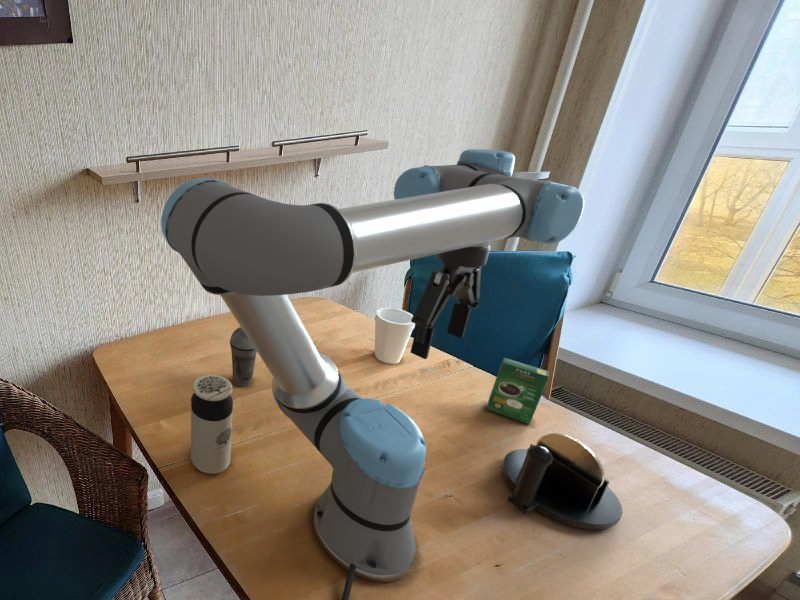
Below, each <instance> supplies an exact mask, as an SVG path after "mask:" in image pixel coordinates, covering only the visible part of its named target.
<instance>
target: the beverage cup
mask: <svg viewBox="0 0 800 600" xmlns="http://www.w3.org/2000/svg"><path fill="white" fill-rule="evenodd" d="M229 345H230V346H229V347H230V351H231V365H232V377H233V383H234V385H236V386H238V387H243V388H246V387H249V386H250V385H251V384H252V379H253V376H254V370H255V363H256V358H257V354H258V352H257V351H256V349H255V348H254V346H253V345H252V343H251V342H250V340H249V339H248V337H247V335H246V334H245V332H244V331H243V329H242V328H241V326H239V327H238V328H236V329H234V330H233V332H232V334H231V335H230V340H229Z"/></svg>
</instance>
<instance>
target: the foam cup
mask: <svg viewBox="0 0 800 600" xmlns="http://www.w3.org/2000/svg"><path fill="white" fill-rule="evenodd" d="M413 315H414V314H412V313H410V312H409V311H406V310H404V309H401V308H400V309H399V308H397V307H396V308H395V307H381V308H379V309H377V310H376V311H375V314H374V321H375V324H374V356H375V358H376V359H377V360H378V361H380V362H383V363H386V364H389V365H390V364H391V365H396V364H399V363H400V362H401V359H402V357H403V356H404V353H405V350H406V348H407V345H408V344H409V343H408V342H409V340H410V337H411V335H412V332H413V330H415V327H416V324H415V323H412V322H411V320H412V317H413Z"/></svg>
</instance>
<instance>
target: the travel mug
mask: <svg viewBox="0 0 800 600" xmlns="http://www.w3.org/2000/svg"><path fill="white" fill-rule="evenodd" d="M191 388H192V391H193V393H192V395H191V397H190V460H191V462H192V465H193V466H194V467H195V468H196V469H197V470H198V471H200V472H202V473H206V474H209V475H213V474H220V473H222V472H224V471H226V470H227V468H228V467H229V466H230V463H231V454H232V432H233V431H232V430H233V413H234V410H233V409H234V399H233V397H232V396H231V394H232V392H233V385H232V382H230V380H229V379H227V378H226V377H224V376H221V375H219V374H213V373H212V374H203V375H200V376H198V377H197V378H196V379H194V381H193V382H192V387H191Z"/></svg>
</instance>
